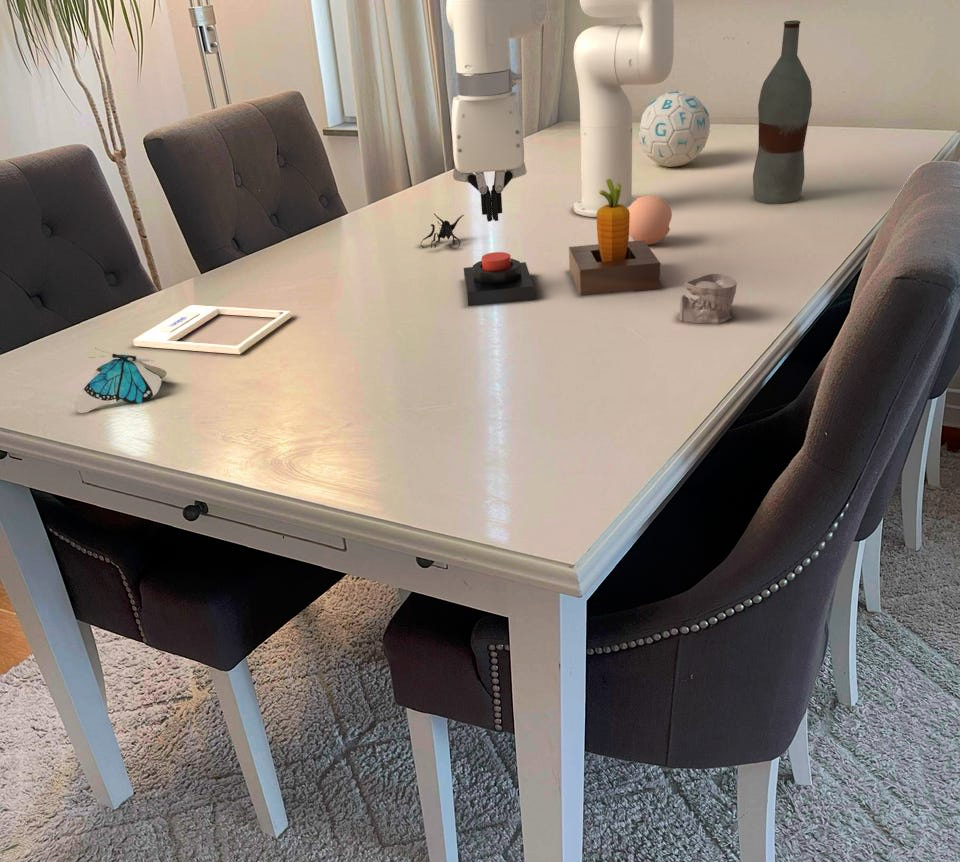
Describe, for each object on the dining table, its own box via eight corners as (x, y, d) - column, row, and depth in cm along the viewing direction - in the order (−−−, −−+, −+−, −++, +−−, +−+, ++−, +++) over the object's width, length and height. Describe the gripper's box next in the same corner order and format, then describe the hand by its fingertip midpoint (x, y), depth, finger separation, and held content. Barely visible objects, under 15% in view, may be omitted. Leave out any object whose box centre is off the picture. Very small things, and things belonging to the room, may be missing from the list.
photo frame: (190, 303, 150) (290, 309, 144) (192, 310, 150) (291, 316, 144) (132, 338, 138) (238, 346, 132) (134, 345, 139) (239, 354, 133)
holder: (569, 271, 153) (568, 246, 151) (643, 264, 153) (643, 239, 151) (580, 296, 143) (580, 270, 141) (659, 288, 143) (660, 262, 141)
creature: (454, 258, 167) (472, 235, 172) (449, 230, 164) (467, 208, 169) (415, 255, 170) (434, 233, 175) (409, 228, 167) (428, 206, 172)
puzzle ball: (718, 159, 211) (722, 86, 203) (692, 175, 200) (695, 98, 192) (654, 156, 218) (656, 85, 210) (626, 171, 208) (627, 97, 200)
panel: (464, 281, 153) (462, 256, 151) (526, 275, 153) (525, 250, 151) (468, 306, 143) (465, 280, 141) (534, 300, 143) (533, 274, 141)
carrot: (628, 285, 146) (628, 184, 138) (595, 285, 147) (594, 185, 139) (630, 274, 150) (631, 176, 142) (598, 274, 151) (597, 177, 143)
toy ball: (680, 241, 163) (682, 193, 158) (654, 253, 158) (655, 204, 154) (641, 234, 167) (642, 188, 163) (615, 246, 163) (615, 199, 159)
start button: (481, 264, 148) (480, 253, 147) (509, 262, 148) (509, 250, 147) (483, 273, 144) (482, 262, 143) (512, 270, 144) (511, 259, 143)
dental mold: (701, 330, 128) (703, 294, 126) (670, 316, 134) (671, 281, 131) (747, 317, 131) (750, 281, 128) (715, 303, 136) (717, 269, 134)
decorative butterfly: (156, 375, 119) (71, 364, 117) (155, 422, 122) (73, 412, 120) (171, 345, 127) (93, 334, 125) (171, 389, 130) (94, 379, 129)
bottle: (747, 204, 179) (760, 25, 163) (754, 191, 186) (768, 19, 170) (799, 205, 176) (817, 23, 160) (804, 192, 183) (823, 17, 167)
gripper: (535, 77, 136) (539, 208, 145) (430, 86, 135) (441, 217, 145) (540, 84, 129) (545, 221, 139) (431, 93, 129) (443, 229, 139)
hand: (492, 218), depth 142 cm, fingers closed
